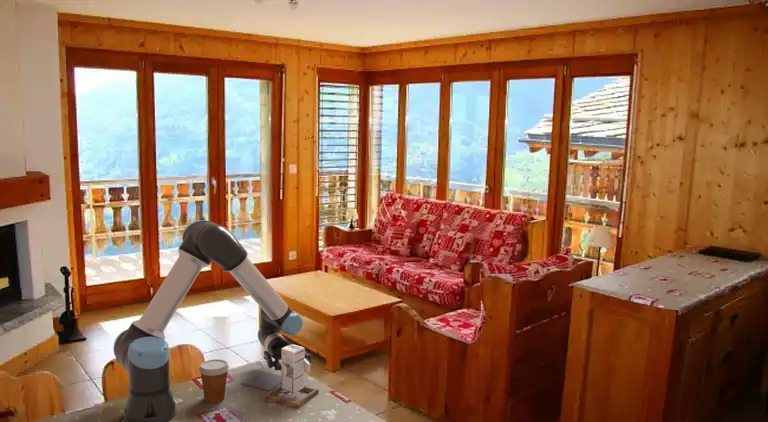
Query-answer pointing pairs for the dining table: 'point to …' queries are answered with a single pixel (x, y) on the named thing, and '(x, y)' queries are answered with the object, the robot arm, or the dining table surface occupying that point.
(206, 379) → the disposable coffee cup
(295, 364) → the syrup box
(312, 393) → the walnut holder frame
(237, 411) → the dining table surface
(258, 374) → the rubber mat
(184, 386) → the dining table surface
